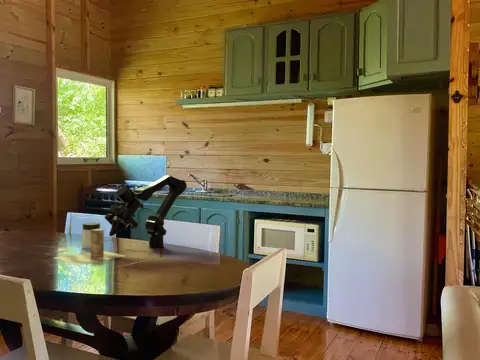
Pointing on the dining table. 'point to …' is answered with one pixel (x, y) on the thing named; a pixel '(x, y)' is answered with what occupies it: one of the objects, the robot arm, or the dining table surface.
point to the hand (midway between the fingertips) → (110, 235)
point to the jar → (88, 233)
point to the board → (87, 258)
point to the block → (97, 243)
